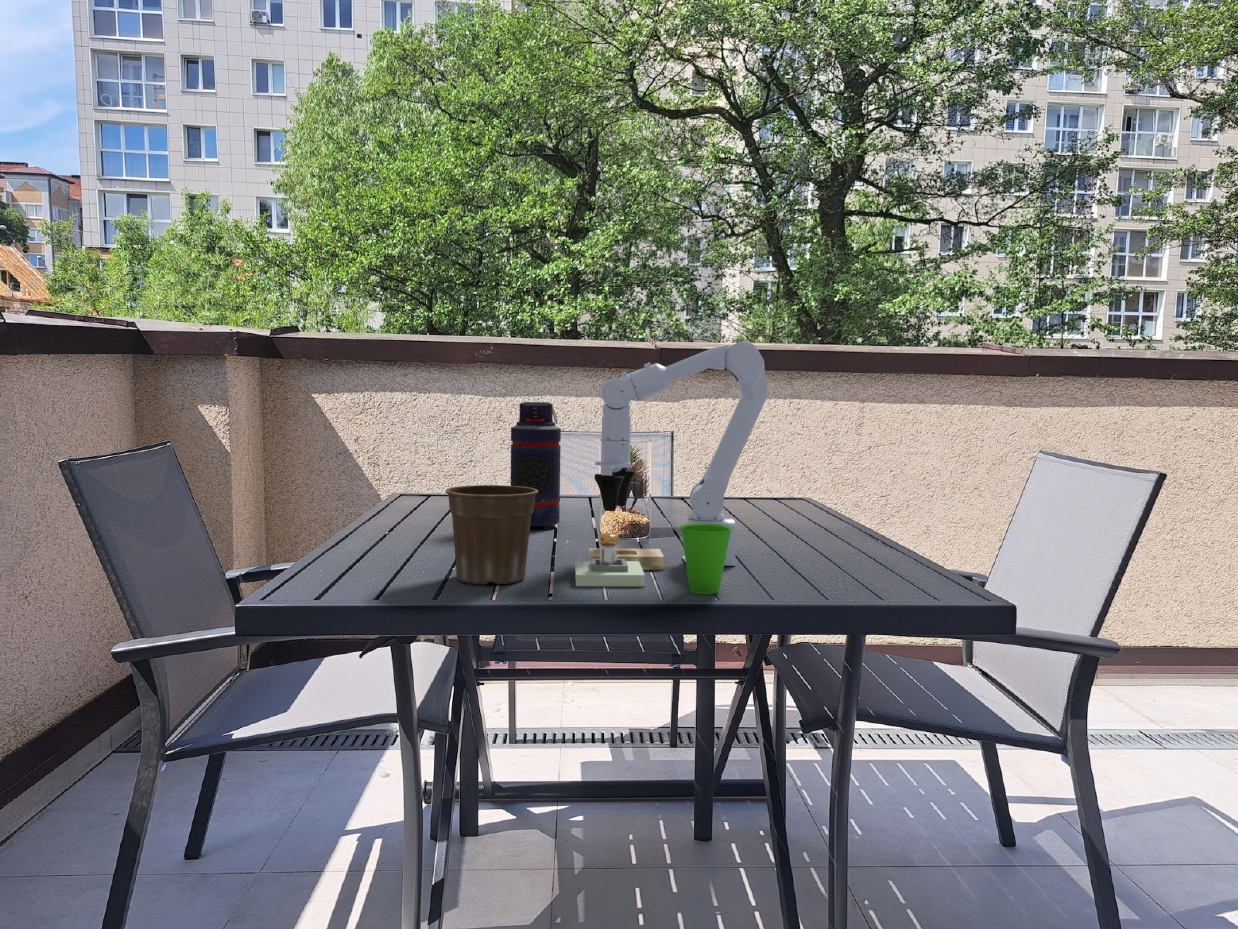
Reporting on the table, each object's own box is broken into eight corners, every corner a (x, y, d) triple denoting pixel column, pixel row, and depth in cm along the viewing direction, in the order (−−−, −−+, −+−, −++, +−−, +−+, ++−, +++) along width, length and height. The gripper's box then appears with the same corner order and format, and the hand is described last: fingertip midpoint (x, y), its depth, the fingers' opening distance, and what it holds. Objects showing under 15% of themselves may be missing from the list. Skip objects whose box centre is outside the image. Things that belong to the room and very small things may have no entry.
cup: (739, 595, 153) (741, 531, 152) (688, 598, 151) (690, 532, 150) (718, 583, 162) (720, 522, 161) (670, 586, 159) (672, 524, 158)
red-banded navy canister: (558, 531, 214) (559, 403, 211) (507, 530, 213) (508, 402, 211) (560, 522, 227) (562, 402, 225) (513, 521, 227) (514, 401, 224)
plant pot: (481, 565, 174) (482, 481, 172) (553, 575, 166) (555, 487, 165) (426, 581, 159) (426, 490, 158) (502, 593, 152) (503, 497, 150)
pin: (616, 576, 166) (617, 533, 165) (617, 580, 163) (618, 536, 162) (598, 576, 166) (598, 533, 165) (599, 580, 163) (599, 536, 162)
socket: (638, 571, 171) (638, 556, 170) (644, 586, 159) (645, 569, 158) (574, 571, 170) (574, 555, 169) (576, 586, 158) (576, 569, 157)
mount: (659, 561, 181) (659, 548, 181) (663, 569, 173) (664, 556, 173) (588, 560, 180) (589, 548, 180) (590, 569, 172) (590, 556, 172)
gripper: (605, 437, 187) (604, 502, 188) (586, 441, 173) (585, 512, 174) (639, 438, 185) (637, 504, 186) (622, 442, 171) (620, 514, 172)
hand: (614, 508), depth 180 cm, fingers open, 7 cm apart
